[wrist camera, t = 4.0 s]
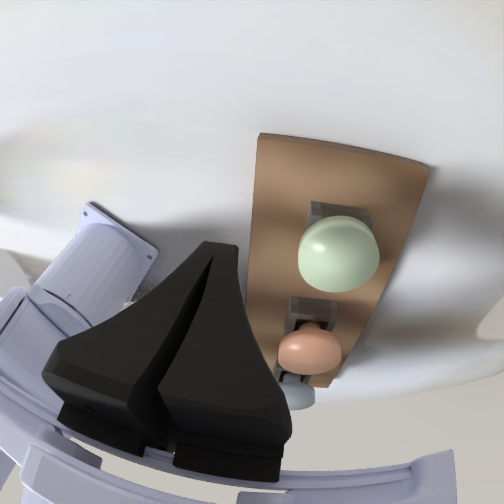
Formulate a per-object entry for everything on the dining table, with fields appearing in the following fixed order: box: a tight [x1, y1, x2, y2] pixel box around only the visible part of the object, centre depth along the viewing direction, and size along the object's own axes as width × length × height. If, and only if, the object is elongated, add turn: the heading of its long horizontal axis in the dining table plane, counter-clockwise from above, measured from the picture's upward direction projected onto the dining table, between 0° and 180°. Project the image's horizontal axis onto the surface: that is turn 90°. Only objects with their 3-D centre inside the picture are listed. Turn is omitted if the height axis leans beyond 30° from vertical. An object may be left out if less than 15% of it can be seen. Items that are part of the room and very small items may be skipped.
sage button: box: [298, 216, 380, 293], centre depth 17 cm, size 5×5×3 cm
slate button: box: [278, 373, 315, 410], centre depth 27 cm, size 5×5×3 cm
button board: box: [245, 133, 430, 388], centre depth 24 cm, size 28×11×3 cm, turn 176°
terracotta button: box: [278, 322, 341, 375], centre depth 21 cm, size 5×5×3 cm
